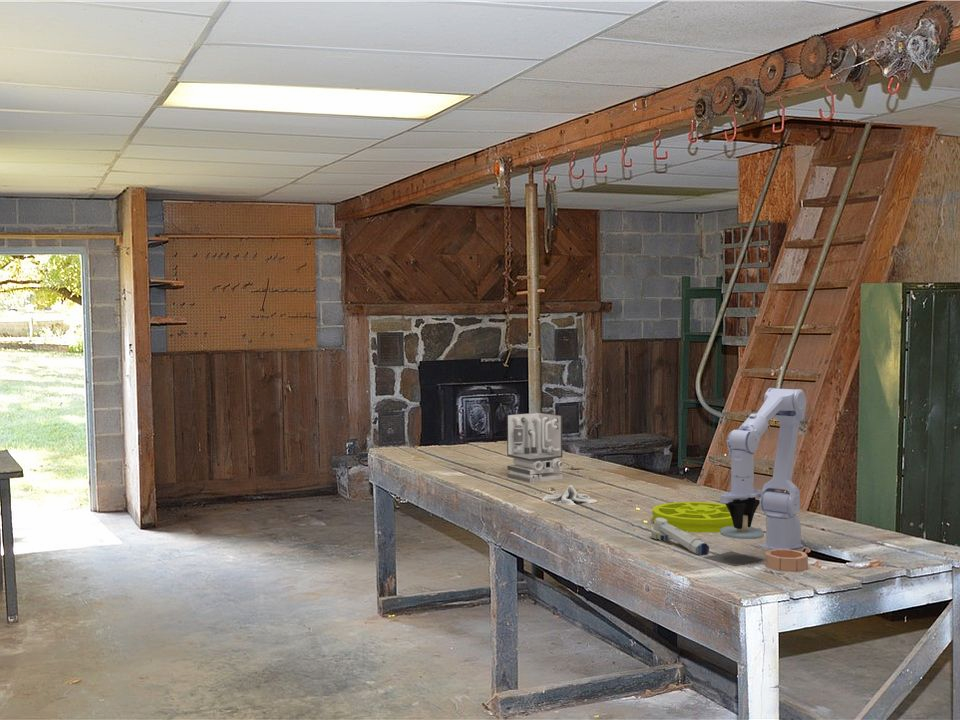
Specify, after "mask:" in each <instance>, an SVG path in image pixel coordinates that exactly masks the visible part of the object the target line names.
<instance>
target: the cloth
mask: <svg viewBox="0 0 960 720" xmlns="http://www.w3.org/2000/svg"><path fill="white" fill-rule="evenodd" d="M589 498H591V496H590V495H588V494H586V493H578V492H577V491H576V489H575V488H574V487H573V485H572V484H570V485H568V486H567V488H566V490H565V491H563V492H562V493H561V494H559V493H556V494H555V493H554V494H547V495H545V496H543V497H542V499H541V501H542V500H543V501H542V502H550V503H551V504H552V503H554V504H556V503H557V502H559V501H561V503H562V504H568V505H576V506H577V503H574V502H580V503H579V504H582V503H594V502H597V501H598V500H596V499H594V498H591V499H589ZM545 500H547V501H545ZM549 500H550V501H549ZM554 504H553V505H554ZM594 504H595V503H594Z"/></svg>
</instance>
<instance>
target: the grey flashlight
mask: <svg viewBox="0 0 960 720" xmlns="http://www.w3.org/2000/svg"><path fill="white" fill-rule="evenodd" d="M650 532H651V536H652V537H651V539H652V538H654V539H656V540H657V539H659V540H667V539H670V538H671V539H672V540H673V541H675V542H677V543H678V544H679V545H681V546H683V547H684V548H686V549H687V550H688V551H689V552H690V553H693V554H695V555H697V556H703V555H704V556H705V555H708V554H709V553H710V546H709V545H708V544H707V543H706V542H704V541H703V540H702V538H700V537H695V536H694V535H692V534H691V533H689V532H685V531H682V530H680V529H678V528H676V527H674V526H672V525H670V524H668V522H667V520H666V519H664V518H656V519H655V520H654V523H653V526H651V527H650ZM654 539H653V540H654ZM659 540H658V541H659ZM667 541H668V540H667Z"/></svg>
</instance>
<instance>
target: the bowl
mask: <svg viewBox="0 0 960 720" xmlns="http://www.w3.org/2000/svg"><path fill="white" fill-rule="evenodd" d="M764 554H765V555H764V563H765V567H766V568H767V569H771V570H774V571H778V572H779V571H780V572H800V571H805V570H808V569H809V568H808V566H809V565H808V562H809V561H808V560H809V559H808V558H809V557H808V554H807V552H804V551H801V550H800V551H799V550H795V549H769V550H765V551H764Z"/></svg>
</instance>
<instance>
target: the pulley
mask: <svg viewBox="0 0 960 720" xmlns="http://www.w3.org/2000/svg"><path fill="white" fill-rule="evenodd" d="M656 518H664V519H666V520H667V522H668V524H670V525H672V526H674V527H676V528H678V529H680V530H682V531H684V532H685V531H688V532H687V533H701V532H711V533H720V529H721V528H723V527H729V526H734V525H733V521H732V517H731V514H730V512H729V510H728V508H727V506H726V505H725V503H717V502H708V501H707V502H706V501H705V502H704V501H678V502H666V503H661V504H658V505H655V506H653V507H652V523H653V522H654V520H655V519H656Z"/></svg>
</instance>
